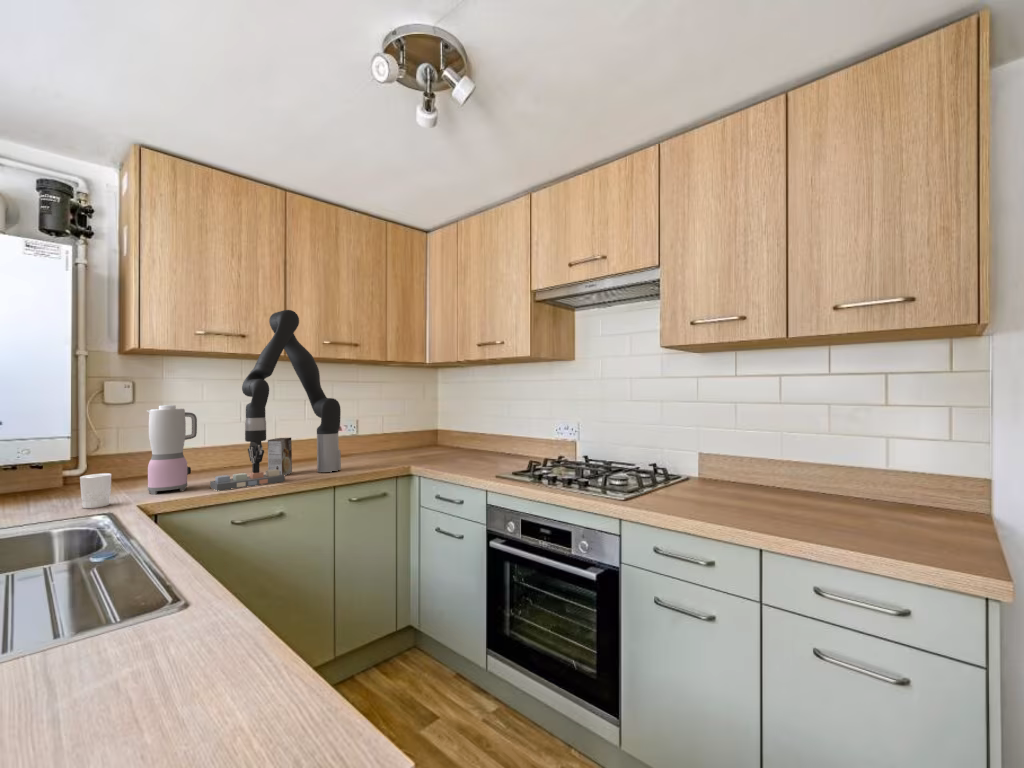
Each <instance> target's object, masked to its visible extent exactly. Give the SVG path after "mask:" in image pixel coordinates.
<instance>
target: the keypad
mask: <svg viewBox="0 0 1024 768" xmlns="http://www.w3.org/2000/svg"><path fill="white" fill-rule="evenodd" d="M285 479H286V475H285V476H284V475H281V474H279V475H278V476H270V477H268V476H266V473H265V474H264V477H262V478H254V479H251V478H250V475H249V476H248V475H247V479H246V480H238V481H234V480H233V477H232V478H230V482H223V483H216V482H215V480H210V482H209V483H210V485H209V486H210V487H211V488H210V487H209V488H210V489H212V488H213V489H212V490H214V489H215V490H214V491H216V490H217V491H216V492H219V491H218V490H222V491H226V490H225V489H229V490H232V489H231V488H236V489H240V488H239V487H244V488H248V487H247V486H251V487H256V486H255V485H258V486H262V485H261V484H265V485H269V484H268V483H273V484H277V483H276V482H280V483H284V482H283V481H285V482H286V480H285Z"/></svg>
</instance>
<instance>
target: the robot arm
mask: <svg viewBox="0 0 1024 768" xmlns="http://www.w3.org/2000/svg"><path fill="white" fill-rule="evenodd" d="M268 321H269V326H270V328H271V330H272V332H273V333H274V335H273V336H272V337H271V338H270V341H269V342H268V343H267V344H266V346H265V347H264V348H263V349H262V351H261V352H260V354H259V356H258V358H257V360H256V363H255V365H254V367H253V369H252V370H251V371H250V372H249V374H248V375H247V376H246V377H245V379H244V380H243V382H242V384H241V385H242V386H241V390H242V393H243V395H245V396H246V397H250V398H251V400H250V402H249V403H247V404H246V406H245V422H244V441H245V442H248V443H249V446H248V448H247V453H248V457H249V462H251V464H252V465H251V466H252V469H251V470H252V471H251V473H252V472H253V473H259V472H260V464H261V463H262V462H263V457H264V454H265V450H264V448H263V447H264V446H263V443H262V442H265V441H267V420H266V406H267V403H268V399H269V395H270V387H269V383H268V382H267V380H265V379H267V378H269V377H271V376H272V375H273V373H274V370H275V368H276V366H277V363H278V361H279V359H280V357H281V355H282V353H283V351H285V353H286V354H285V355H287V358H288V359H289V361H290V364H291V366H292V368H293V370H294V372H295V373H296V375H297V377H298V379H299V381H300V383H301V386H302V387H303V389H304V391H305V393H306V395H307V398H308V400H309V403H310V406H311V408H312V411H313V413H314V414H315V416H317V417H318V418H320V419H321V420H320V425H319V426H317V428H316V458H317V459H316V465H317V466H316V468H317V469H316V470H317V473H318V472H330V473H333V472H332V471H337V472H339V471H338V470H341V471H342V467H341V466H342V462H341V461H342V459H341V457H342V456H341V455H342V454H341V453H342V452H341V449H339V448H340V446H339V444H340V443H339V430H340V428H341V412H342V410H341V405H340V403H339V401H338V400H337V399H336V398H333V397H327V396H326V393H325V392H324V390H323V388H322V385H321V377H320V370H319V366H318V364H317V363H316V359H315V358H314V357H313V355H312V354H311V352H309V350H307V348H306V347H305V346H303V345H302V344H301V343H300V342H299V340H298V338H297V337H296V335H295V332H296V330H297V329H298V327H299V324H300V317H299V315H298V313H296V312H295V311H294V310H292V309H284V310H280V311H277V312H273V313H272V314H271V315H270V317H269V320H268Z"/></svg>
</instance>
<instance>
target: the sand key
mask: <svg viewBox="0 0 1024 768" xmlns="http://www.w3.org/2000/svg"><path fill="white" fill-rule="evenodd" d="M265 474H266V476H268V477H270V476H278V475H279V470H277V469H274V470H268V469H267V470H266V469H265Z"/></svg>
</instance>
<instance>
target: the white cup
mask: <svg viewBox="0 0 1024 768" xmlns="http://www.w3.org/2000/svg"><path fill="white" fill-rule="evenodd" d="M79 483H80V496H81V504H82V506H81V507H82V508H83V509H95V508H102V507H105V506H109V505H110V503H111V502H110V500H111V493H112V491H111V490H112V473H108V472H107V473H93V474H86V475H82V476H79Z"/></svg>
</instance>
